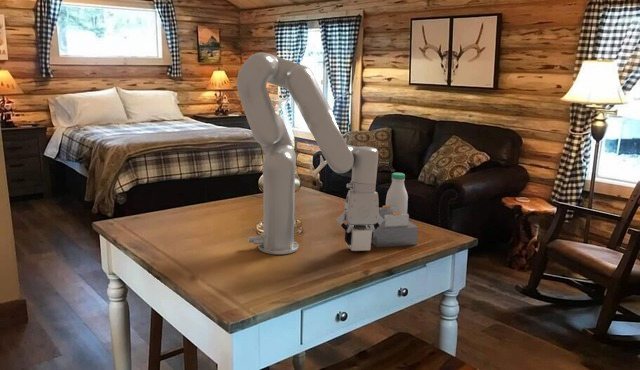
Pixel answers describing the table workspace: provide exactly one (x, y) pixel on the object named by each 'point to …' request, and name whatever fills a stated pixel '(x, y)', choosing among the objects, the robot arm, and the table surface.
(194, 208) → the table surface
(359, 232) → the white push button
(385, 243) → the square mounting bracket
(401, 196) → the milk bottle
